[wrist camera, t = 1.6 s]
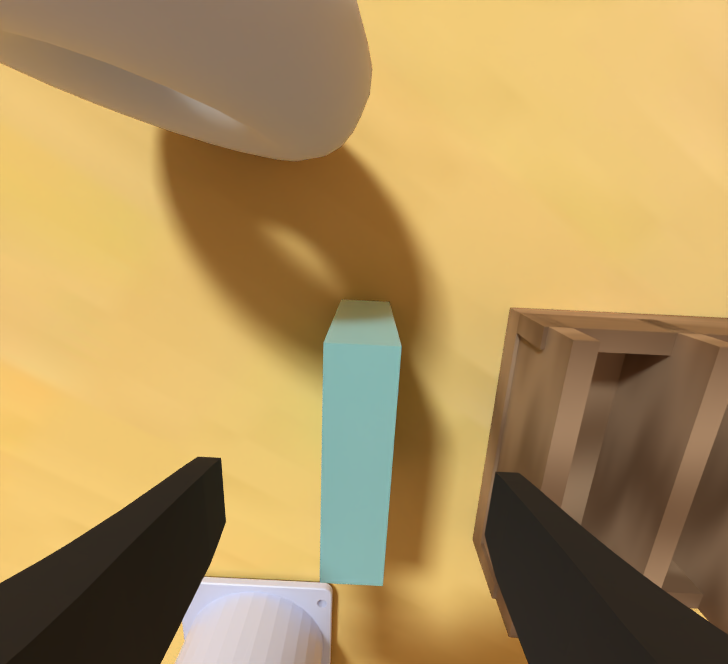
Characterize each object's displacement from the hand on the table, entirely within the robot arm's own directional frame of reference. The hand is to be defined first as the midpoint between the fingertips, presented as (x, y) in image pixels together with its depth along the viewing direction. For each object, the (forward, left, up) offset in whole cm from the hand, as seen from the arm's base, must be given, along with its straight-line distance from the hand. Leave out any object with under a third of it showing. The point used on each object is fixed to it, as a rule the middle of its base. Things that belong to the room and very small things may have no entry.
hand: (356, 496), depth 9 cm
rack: (-2, -13, -7) cm, 15 cm away
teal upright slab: (0, 0, -7) cm, 7 cm away
